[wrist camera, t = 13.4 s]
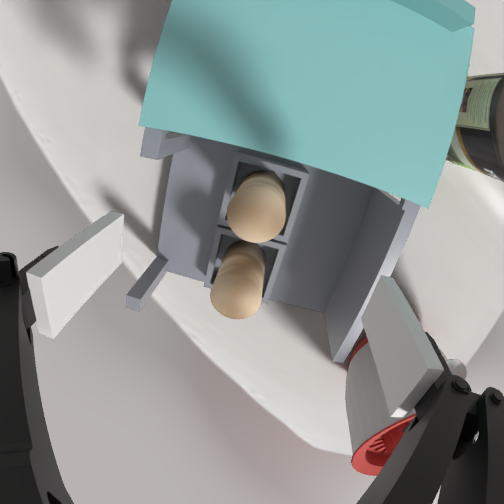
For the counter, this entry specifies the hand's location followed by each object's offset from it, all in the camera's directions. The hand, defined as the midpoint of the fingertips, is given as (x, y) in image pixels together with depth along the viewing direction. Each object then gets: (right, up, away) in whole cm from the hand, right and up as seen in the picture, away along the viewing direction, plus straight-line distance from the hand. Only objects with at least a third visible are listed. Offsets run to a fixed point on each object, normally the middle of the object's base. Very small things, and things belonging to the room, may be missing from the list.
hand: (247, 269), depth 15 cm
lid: (+5, +14, +3) cm, 15 cm away
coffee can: (+24, +16, +12) cm, 31 cm away
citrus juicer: (+21, -13, +26) cm, 36 cm away
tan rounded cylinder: (+1, +7, +16) cm, 18 cm away
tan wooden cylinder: (0, 0, +19) cm, 19 cm away
